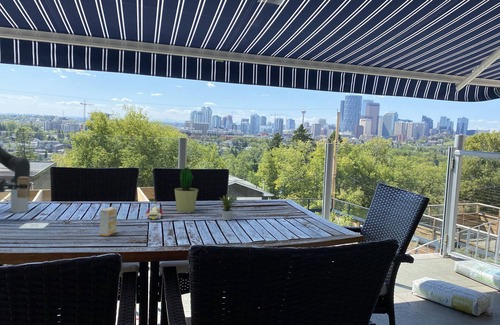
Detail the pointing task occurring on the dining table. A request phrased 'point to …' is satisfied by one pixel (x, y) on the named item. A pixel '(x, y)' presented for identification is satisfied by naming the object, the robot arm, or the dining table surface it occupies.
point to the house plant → (227, 207)
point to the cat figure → (154, 212)
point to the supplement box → (108, 221)
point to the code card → (34, 225)
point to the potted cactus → (186, 193)
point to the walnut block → (23, 192)
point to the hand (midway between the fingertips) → (28, 185)
